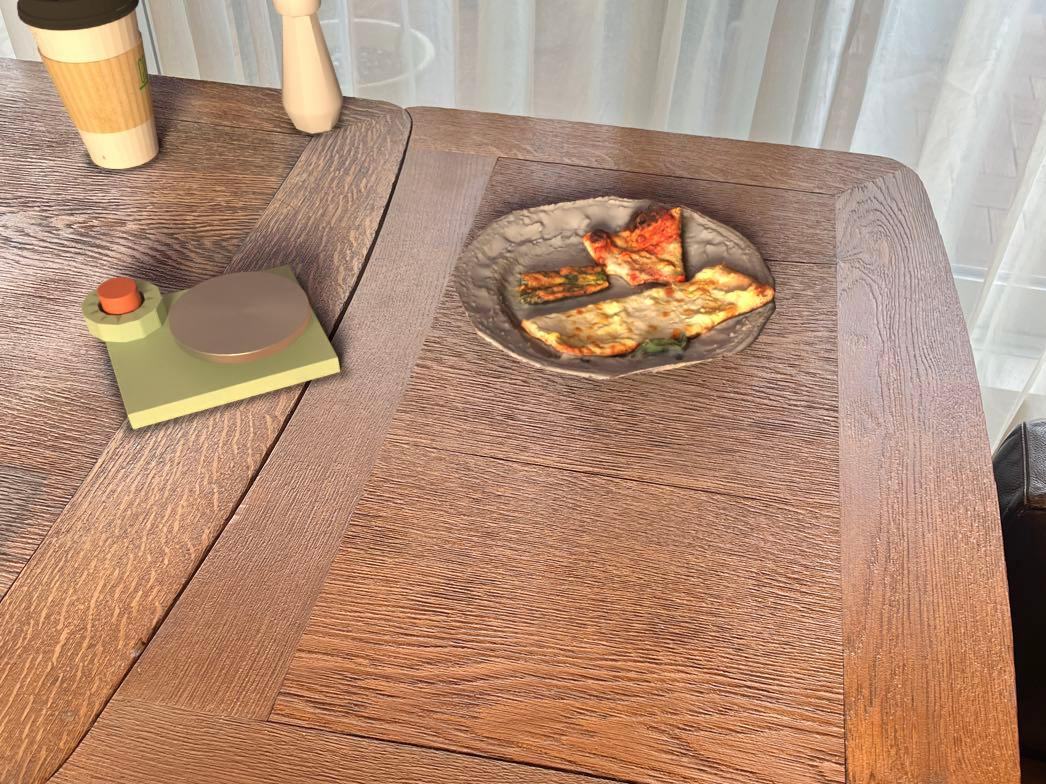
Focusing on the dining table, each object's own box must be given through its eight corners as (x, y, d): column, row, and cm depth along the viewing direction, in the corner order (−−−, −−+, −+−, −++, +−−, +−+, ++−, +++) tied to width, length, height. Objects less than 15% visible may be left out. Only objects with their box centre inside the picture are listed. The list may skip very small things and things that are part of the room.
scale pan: (187, 379, 71) (184, 370, 70) (158, 300, 77) (155, 291, 76) (328, 341, 73) (326, 332, 73) (289, 268, 79) (287, 259, 79)
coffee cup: (195, 131, 100) (151, -36, 88) (152, 183, 93) (99, 10, 82) (100, 122, 101) (45, -44, 89) (51, 173, 94) (-15, 1, 83)
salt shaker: (274, 123, 101) (246, -19, 91) (320, 103, 104) (298, -37, 94) (312, 143, 98) (287, -1, 88) (358, 122, 101) (339, -19, 91)
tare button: (106, 320, 75) (100, 303, 74) (100, 299, 77) (93, 282, 76) (145, 310, 76) (139, 293, 75) (138, 290, 78) (132, 273, 77)
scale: (121, 433, 71) (107, 400, 69) (88, 322, 80) (75, 290, 77) (340, 372, 76) (334, 339, 74) (288, 273, 84) (281, 241, 82)
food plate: (700, 200, 92) (705, 163, 89) (825, 358, 77) (835, 320, 74) (426, 247, 87) (423, 209, 84) (505, 426, 72) (504, 387, 69)
